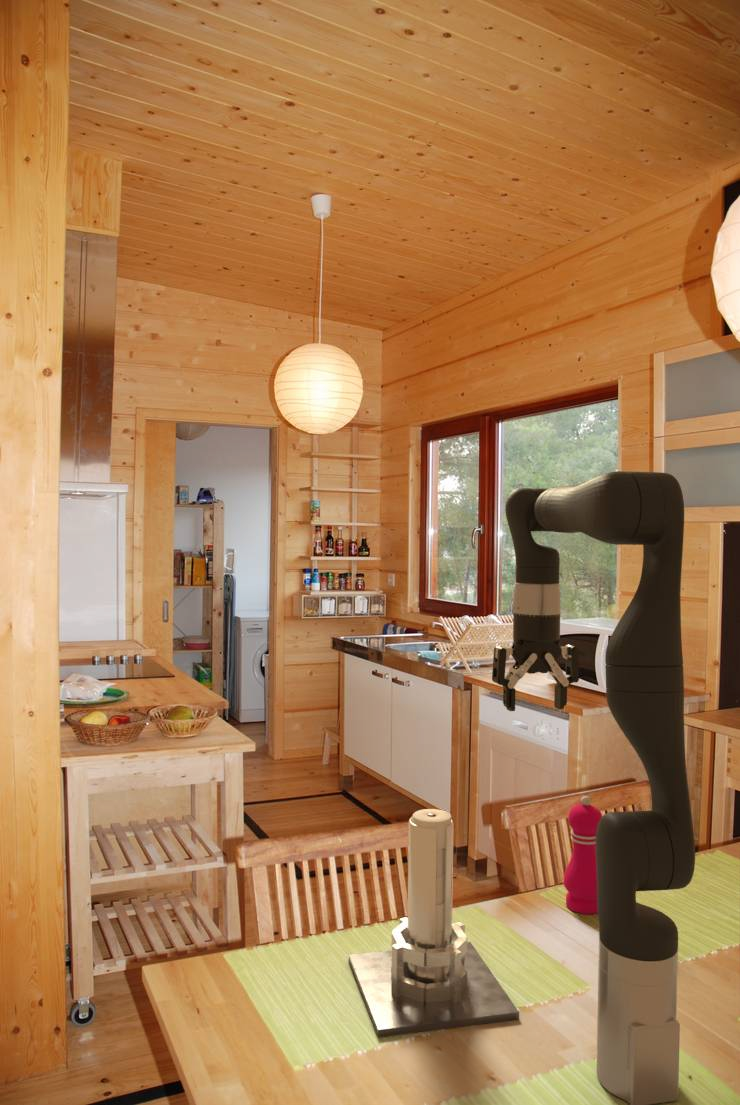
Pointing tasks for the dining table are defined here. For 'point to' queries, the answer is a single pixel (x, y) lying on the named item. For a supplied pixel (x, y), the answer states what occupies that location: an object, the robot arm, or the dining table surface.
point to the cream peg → (430, 888)
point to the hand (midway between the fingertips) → (535, 709)
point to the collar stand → (429, 987)
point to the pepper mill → (582, 858)
